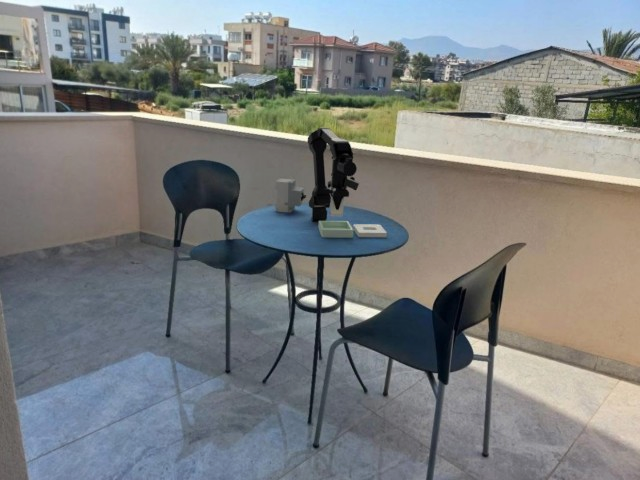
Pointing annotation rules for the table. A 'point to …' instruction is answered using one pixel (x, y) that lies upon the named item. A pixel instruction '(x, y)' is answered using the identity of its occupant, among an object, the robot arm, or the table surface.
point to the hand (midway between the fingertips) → (336, 208)
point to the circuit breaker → (288, 195)
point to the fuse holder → (369, 230)
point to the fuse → (333, 210)
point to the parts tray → (335, 229)
